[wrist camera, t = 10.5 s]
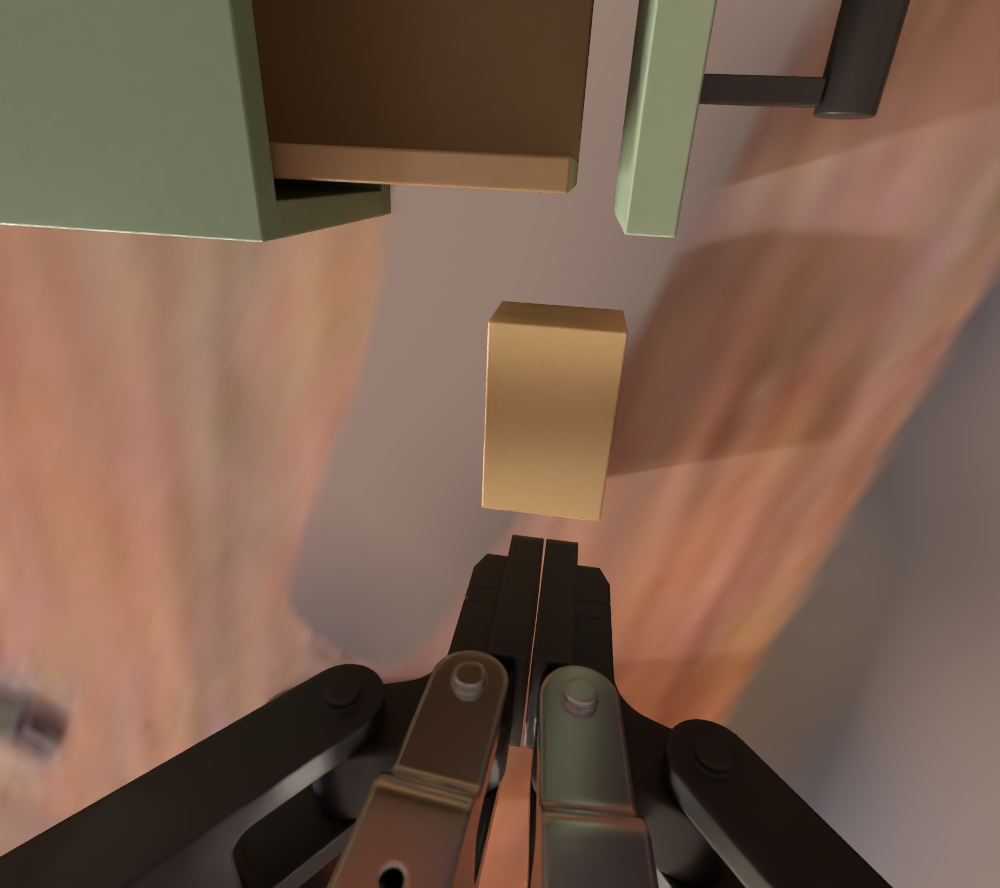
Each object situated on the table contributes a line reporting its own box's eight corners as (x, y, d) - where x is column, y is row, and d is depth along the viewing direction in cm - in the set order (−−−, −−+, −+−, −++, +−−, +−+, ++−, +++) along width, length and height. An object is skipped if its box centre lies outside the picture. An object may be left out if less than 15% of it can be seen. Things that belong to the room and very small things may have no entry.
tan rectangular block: (599, 480, 26) (600, 522, 23) (494, 468, 27) (481, 508, 24) (623, 310, 23) (628, 332, 20) (501, 300, 23) (487, 321, 20)
